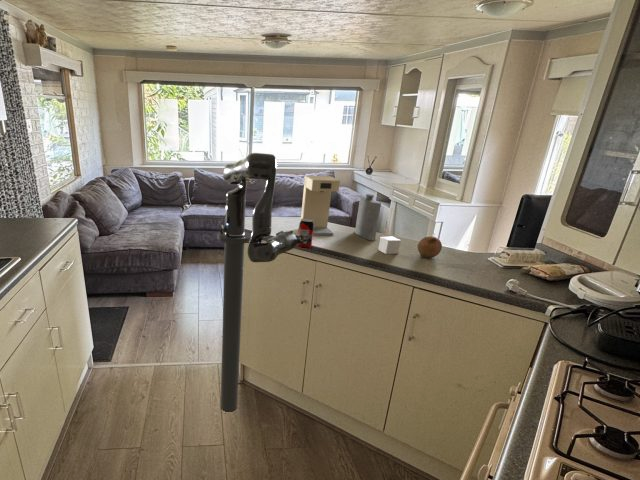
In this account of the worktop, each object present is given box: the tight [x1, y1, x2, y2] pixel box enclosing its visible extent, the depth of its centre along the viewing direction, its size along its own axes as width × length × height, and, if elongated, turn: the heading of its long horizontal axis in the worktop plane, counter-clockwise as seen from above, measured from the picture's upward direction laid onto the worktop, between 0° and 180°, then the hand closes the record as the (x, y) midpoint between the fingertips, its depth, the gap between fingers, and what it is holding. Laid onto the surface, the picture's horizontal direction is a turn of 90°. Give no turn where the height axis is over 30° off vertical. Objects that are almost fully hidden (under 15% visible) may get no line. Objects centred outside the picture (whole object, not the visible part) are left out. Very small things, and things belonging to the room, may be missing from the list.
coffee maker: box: [300, 175, 341, 236], centre depth 209 cm, size 14×13×26 cm
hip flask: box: [354, 193, 382, 242], centre depth 206 cm, size 16×4×20 cm, turn 15°
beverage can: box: [297, 218, 314, 249], centre depth 187 cm, size 6×6×12 cm
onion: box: [417, 235, 443, 259], centre depth 181 cm, size 10×9×10 cm
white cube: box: [377, 235, 401, 255], centre depth 186 cm, size 6×6×6 cm
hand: (301, 234), depth 183 cm, fingers open, 8 cm apart
